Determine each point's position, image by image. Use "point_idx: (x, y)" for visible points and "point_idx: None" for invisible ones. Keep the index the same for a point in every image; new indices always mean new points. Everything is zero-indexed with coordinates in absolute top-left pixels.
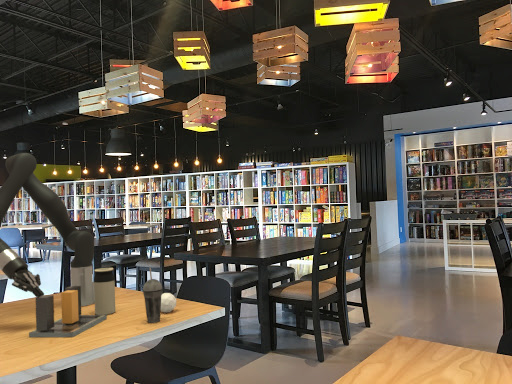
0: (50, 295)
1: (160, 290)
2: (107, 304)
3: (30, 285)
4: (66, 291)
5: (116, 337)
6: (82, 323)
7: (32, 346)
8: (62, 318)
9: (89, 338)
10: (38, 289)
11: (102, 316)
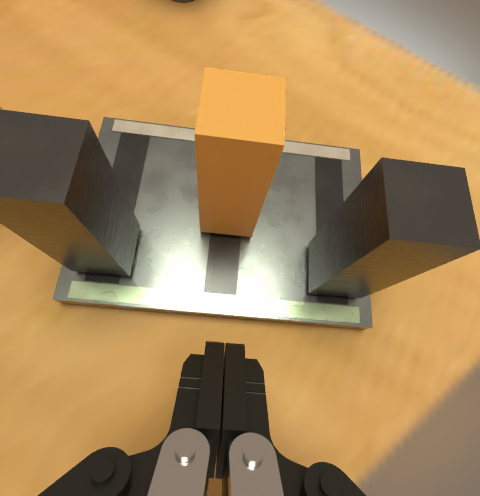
0: (391, 175)
1: None
2: (2, 109)
3: (323, 485)
4: (242, 125)
5: (345, 44)
6: None
7: None
8: (255, 225)
9: (359, 106)
10: (228, 396)
11: (135, 122)
